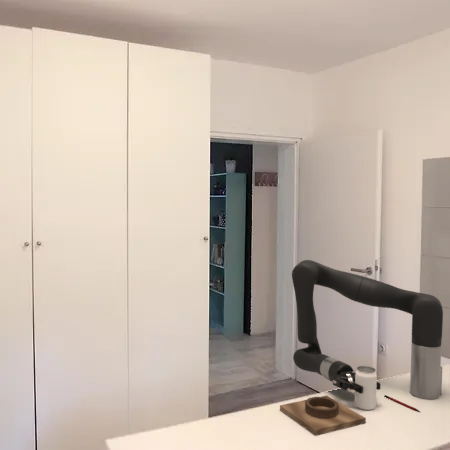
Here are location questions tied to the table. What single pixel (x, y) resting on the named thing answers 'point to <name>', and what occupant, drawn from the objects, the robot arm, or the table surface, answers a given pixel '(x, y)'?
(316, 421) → the socket board
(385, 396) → the pencil
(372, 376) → the can
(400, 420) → the table surface
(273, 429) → the table surface
